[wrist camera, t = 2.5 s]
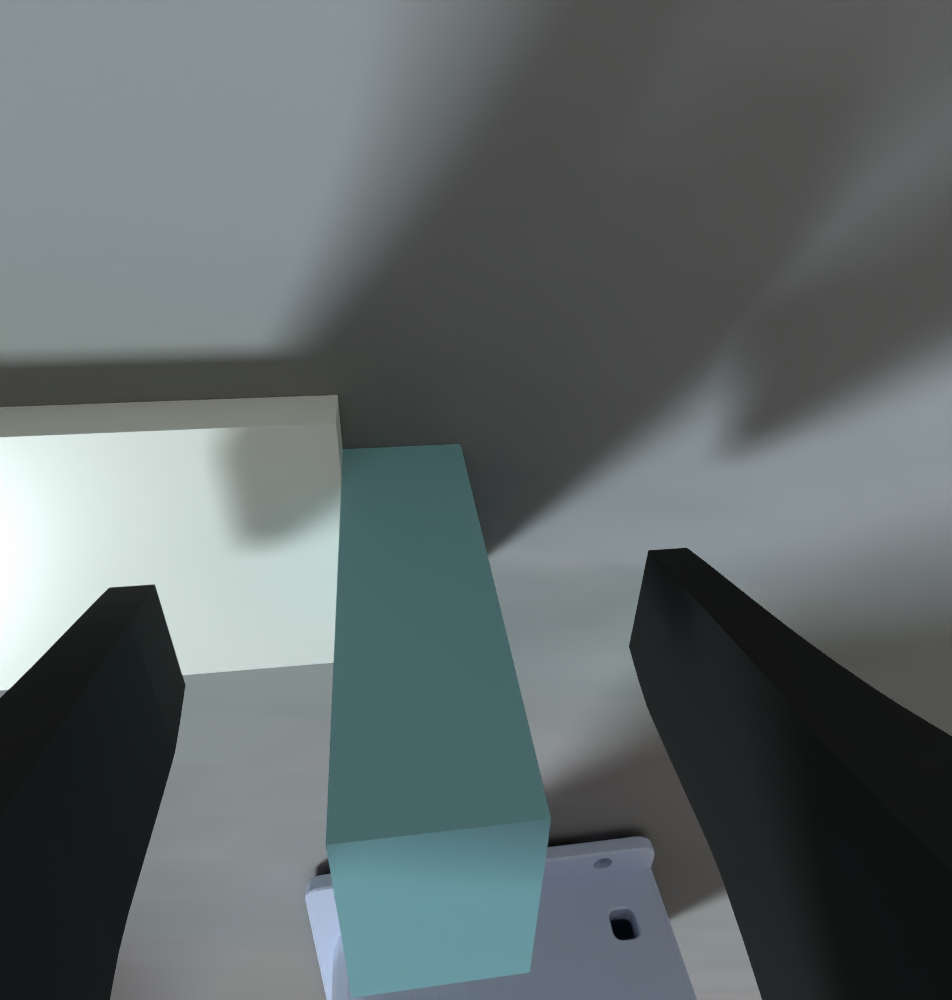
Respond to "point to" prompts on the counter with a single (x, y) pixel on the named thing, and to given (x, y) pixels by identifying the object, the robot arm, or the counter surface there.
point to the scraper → (311, 640)
